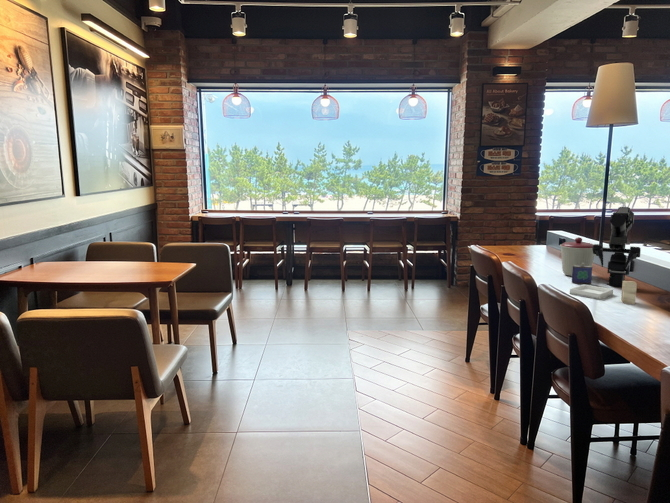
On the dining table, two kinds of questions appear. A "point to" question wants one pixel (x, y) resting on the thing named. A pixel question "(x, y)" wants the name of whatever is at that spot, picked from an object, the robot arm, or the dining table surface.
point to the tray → (591, 291)
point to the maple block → (629, 292)
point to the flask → (582, 274)
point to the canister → (576, 255)
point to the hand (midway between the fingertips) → (613, 267)
